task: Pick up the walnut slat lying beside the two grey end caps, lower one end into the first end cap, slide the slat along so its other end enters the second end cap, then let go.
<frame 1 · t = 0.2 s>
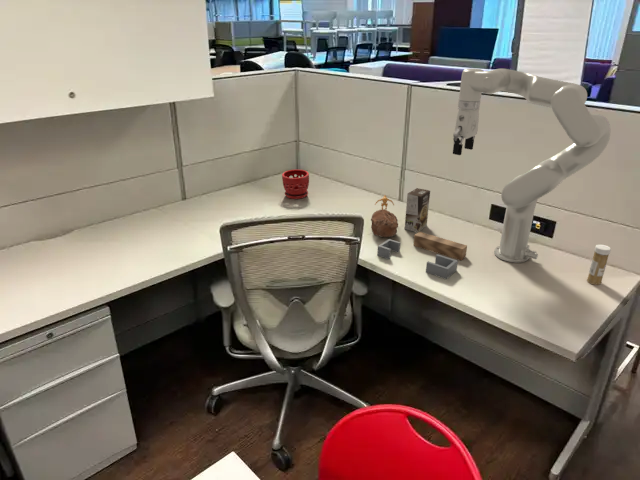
hand: (462, 151, 184), 36 cm above the table, tool pointing down, fingers open, 9 cm apart
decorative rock: (384, 234, 204), on the table
plant pot: (296, 196, 244), on the table
sprinkles bottle: (593, 282, 168), on the table
slat: (438, 251, 190), on the table
end cap b: (388, 253, 188), on the table
coffee box: (415, 227, 210), on the table
figurine: (383, 220, 217), on the table
end cap a: (441, 271, 175), on the table
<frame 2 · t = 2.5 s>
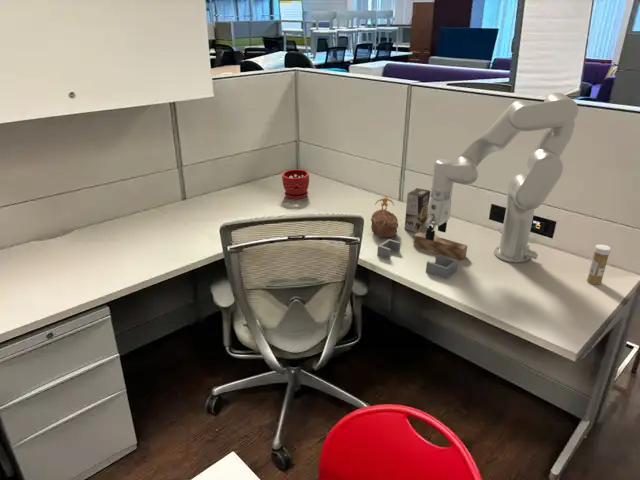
hand: (435, 235, 188), 6 cm above the table, tool pointing down, fingers open, 9 cm apart
nothing on the table moved.
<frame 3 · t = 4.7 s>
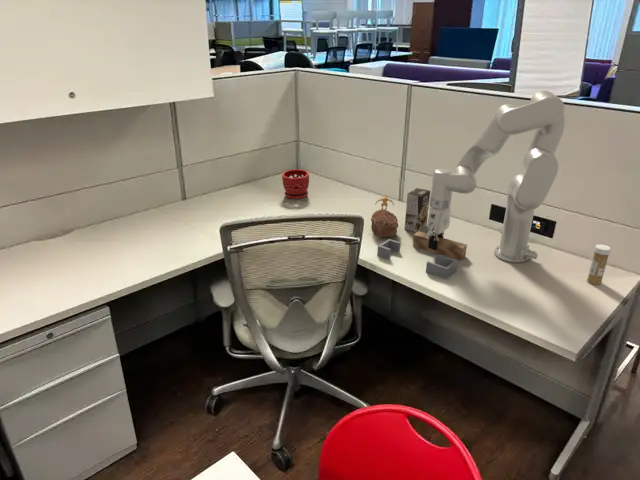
hand: (435, 246, 190), 2 cm above the table, tool pointing down, fingers closed on slat, 4 cm apart
slat: (438, 251, 190), on the table, touching gripper
everything else where it was.
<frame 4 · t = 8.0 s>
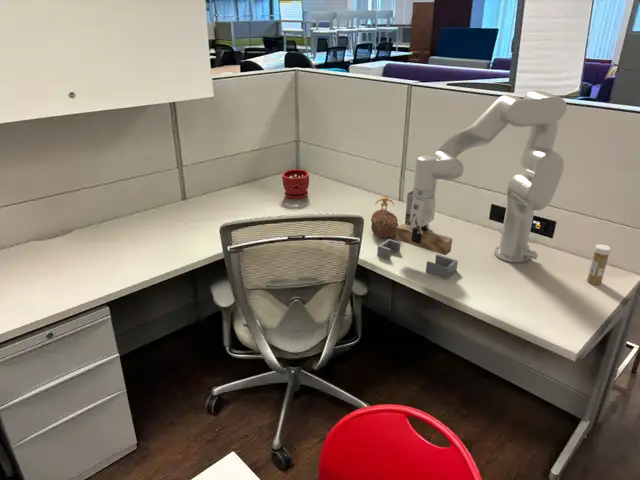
hand: (419, 239, 176), 10 cm above the table, tool pointing down, fingers closed on slat, 4 cm apart
slat: (422, 245, 176), point 8 cm above the table, touching gripper
everything else where it was.
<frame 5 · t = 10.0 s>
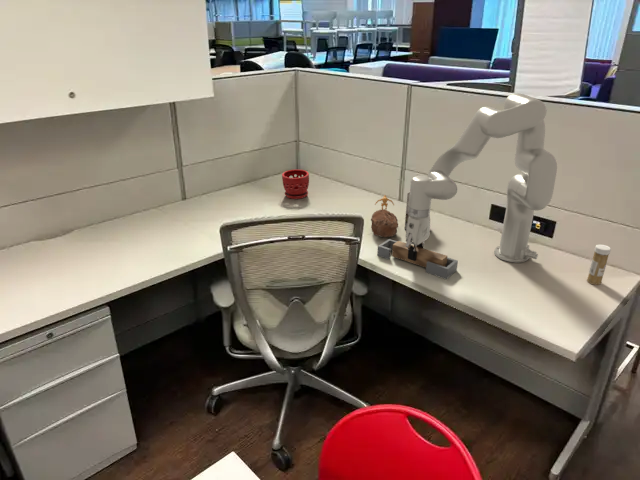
hand: (415, 256, 180), 2 cm above the table, tool pointing down, fingers closed on slat, 4 cm apart
slat: (418, 262, 180), point 1 cm above the table, touching gripper
everything else where it was.
when the fingers open (2 cm above the table, at t = 11.4 s): slat stays where it is, on the table.
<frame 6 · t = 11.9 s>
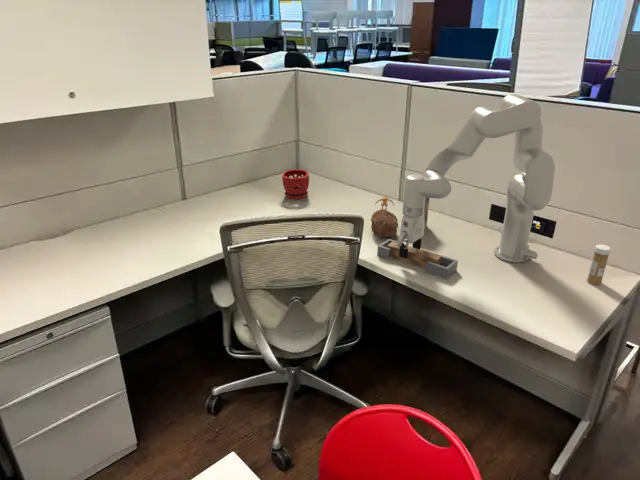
hand: (409, 252, 181), 3 cm above the table, tool pointing down, fingers open, 9 cm apart
slat: (412, 262, 182), on the table
everything else where it was.
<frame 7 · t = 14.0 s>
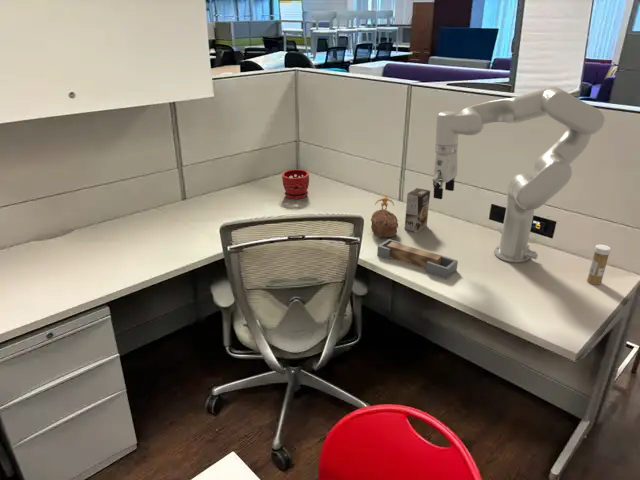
hand: (443, 194, 179), 23 cm above the table, tool pointing down, fingers open, 9 cm apart
nothing on the table moved.
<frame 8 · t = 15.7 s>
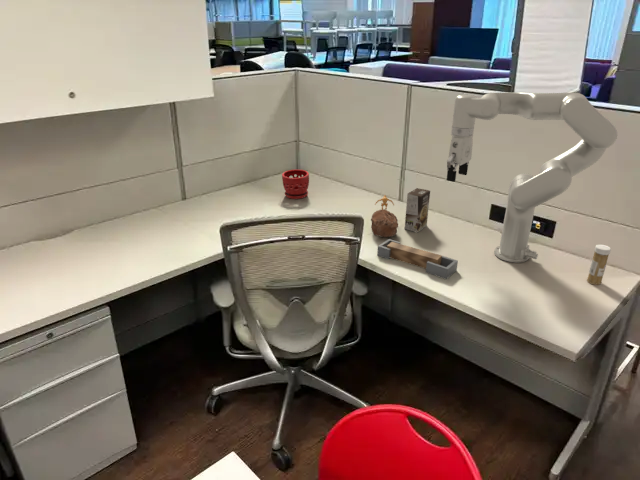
hand: (456, 177, 181), 28 cm above the table, tool pointing down, fingers open, 9 cm apart
nothing on the table moved.
at the end: slat 0.0 cm from the target spot, on the table; slat tilted 0°; the gripper is holding nothing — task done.
